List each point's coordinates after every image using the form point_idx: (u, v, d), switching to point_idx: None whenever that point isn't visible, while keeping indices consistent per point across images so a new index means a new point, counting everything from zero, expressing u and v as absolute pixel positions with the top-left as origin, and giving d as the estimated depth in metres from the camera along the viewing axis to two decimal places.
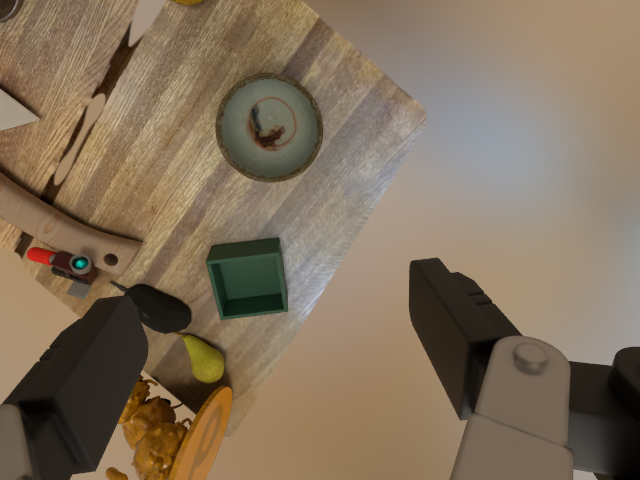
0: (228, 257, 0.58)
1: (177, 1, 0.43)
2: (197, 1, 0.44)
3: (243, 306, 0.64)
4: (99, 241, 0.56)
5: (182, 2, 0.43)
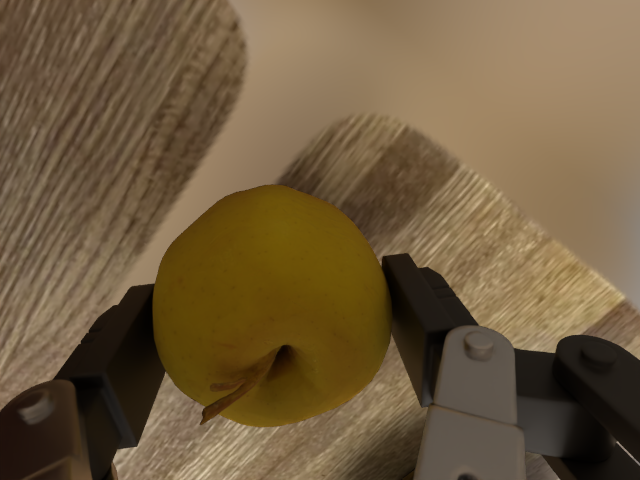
0: None
1: None
2: None
3: None
4: None
5: None
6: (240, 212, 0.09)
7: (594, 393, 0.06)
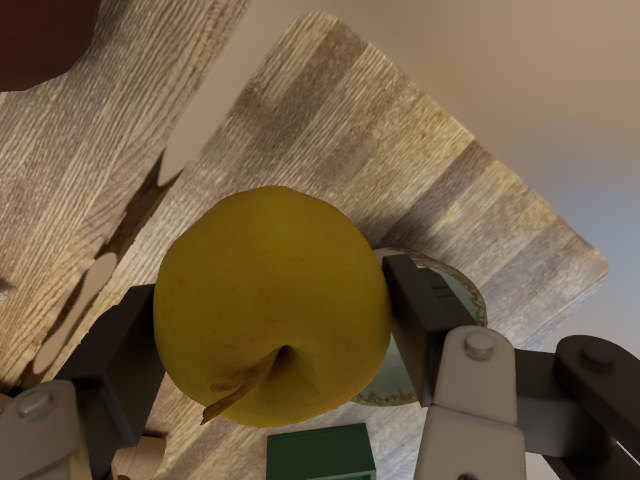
0: (299, 477, 0.38)
1: None
2: None
3: None
4: None
5: None
6: (241, 214, 0.09)
7: (594, 393, 0.06)
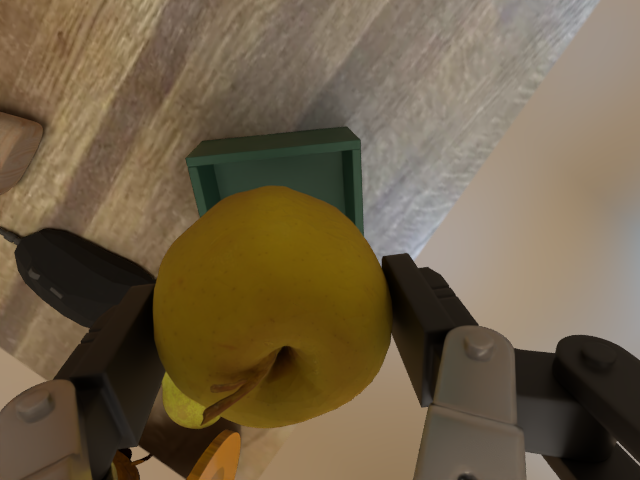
0: (240, 151, 0.24)
1: None
2: None
3: None
4: None
5: None
6: (241, 214, 0.09)
7: (594, 393, 0.06)
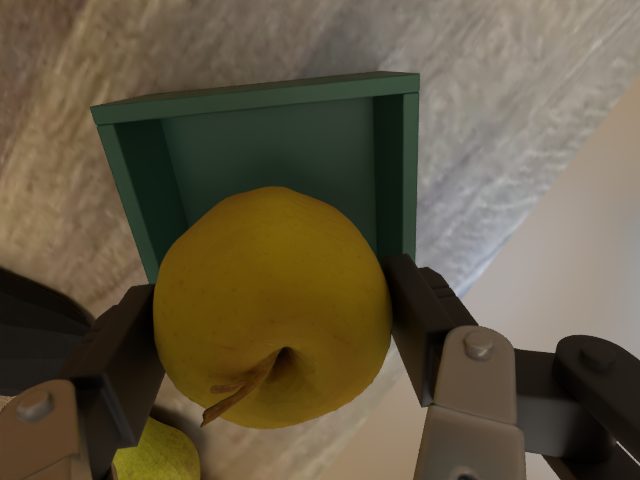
0: (194, 95, 0.13)
1: None
2: None
3: None
4: None
5: None
6: (241, 215, 0.09)
7: (594, 393, 0.06)
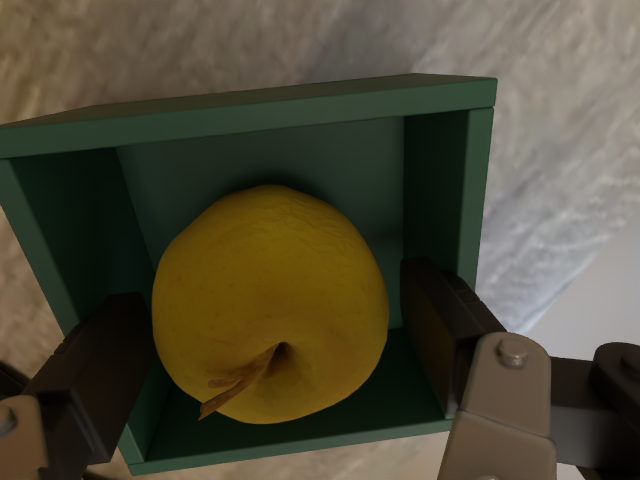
0: (139, 113, 0.08)
1: None
2: None
3: None
4: None
5: None
6: (239, 212, 0.09)
7: (639, 404, 0.06)
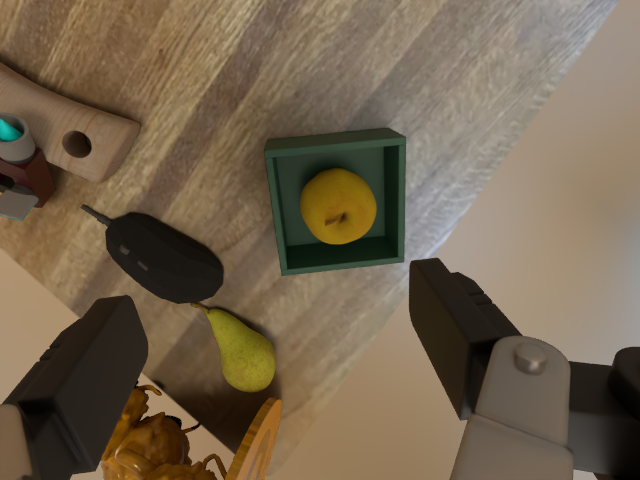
0: (307, 145, 0.29)
1: None
2: None
3: (319, 254, 0.36)
4: (53, 104, 0.28)
5: None
6: (331, 174, 0.30)
7: None
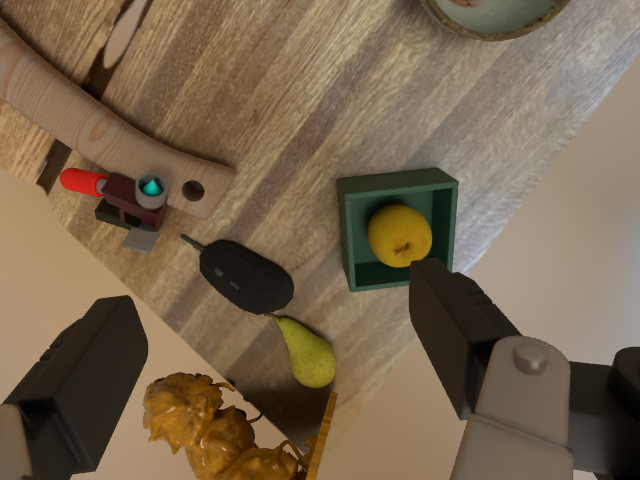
0: (378, 189, 0.36)
1: None
2: None
3: (378, 272, 0.42)
4: (176, 159, 0.35)
5: None
6: (397, 211, 0.37)
7: None
